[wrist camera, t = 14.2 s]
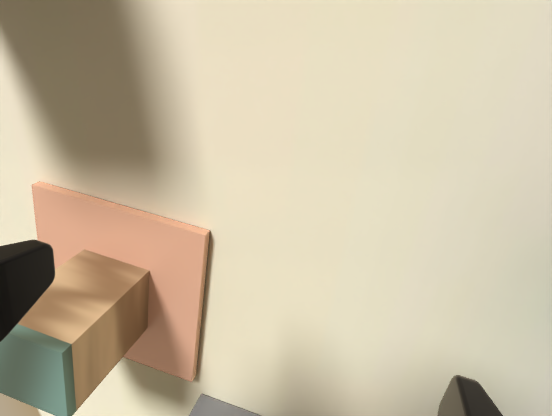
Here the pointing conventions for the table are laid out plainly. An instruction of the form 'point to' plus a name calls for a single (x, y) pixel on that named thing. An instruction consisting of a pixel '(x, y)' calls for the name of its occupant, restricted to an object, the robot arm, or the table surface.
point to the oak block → (75, 333)
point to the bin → (217, 408)
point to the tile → (142, 253)
